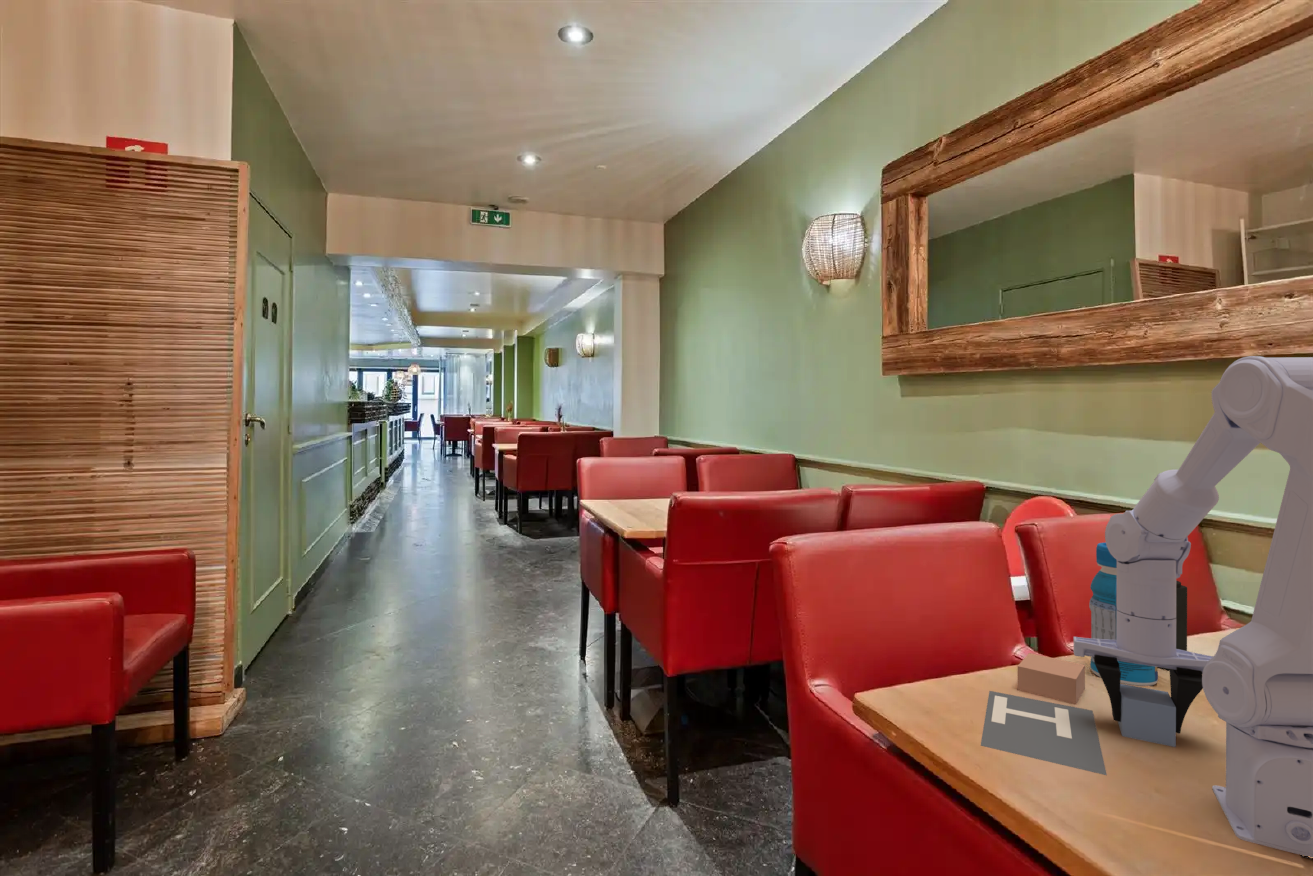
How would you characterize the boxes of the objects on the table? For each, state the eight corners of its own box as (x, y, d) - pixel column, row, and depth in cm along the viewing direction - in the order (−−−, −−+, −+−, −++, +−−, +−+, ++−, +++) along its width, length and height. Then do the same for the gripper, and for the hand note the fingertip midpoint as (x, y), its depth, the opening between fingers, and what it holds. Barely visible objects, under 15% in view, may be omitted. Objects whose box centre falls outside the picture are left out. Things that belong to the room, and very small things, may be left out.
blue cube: (1175, 750, 71) (1175, 707, 71) (1122, 738, 74) (1122, 697, 74) (1167, 732, 76) (1167, 691, 76) (1117, 722, 78) (1117, 683, 78)
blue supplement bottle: (1078, 673, 94) (1078, 543, 94) (1105, 663, 98) (1106, 539, 98) (1142, 693, 87) (1143, 553, 87) (1170, 681, 91) (1170, 547, 91)
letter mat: (1106, 778, 65) (1106, 775, 65) (980, 748, 72) (980, 745, 72) (1092, 712, 81) (1092, 710, 81) (989, 692, 87) (989, 690, 87)
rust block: (1076, 708, 83) (1076, 679, 83) (1017, 693, 87) (1017, 666, 87) (1084, 692, 88) (1084, 664, 88) (1029, 679, 93) (1029, 653, 93)
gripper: (1216, 614, 74) (1215, 725, 74) (1072, 597, 82) (1071, 698, 82) (1232, 629, 68) (1231, 750, 68) (1075, 610, 76) (1075, 719, 76)
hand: (1145, 723), depth 75 cm, fingers closed on blue cube, 5 cm apart
